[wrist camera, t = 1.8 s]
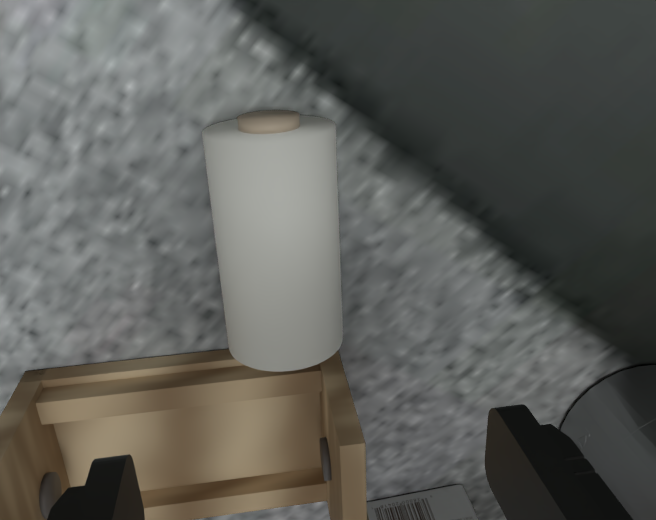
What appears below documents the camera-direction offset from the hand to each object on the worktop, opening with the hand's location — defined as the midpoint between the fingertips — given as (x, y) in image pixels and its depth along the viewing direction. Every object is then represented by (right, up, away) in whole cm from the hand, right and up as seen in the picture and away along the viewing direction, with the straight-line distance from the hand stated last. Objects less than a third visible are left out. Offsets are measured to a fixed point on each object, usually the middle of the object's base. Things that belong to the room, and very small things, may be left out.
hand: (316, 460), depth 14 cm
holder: (-7, -4, +18) cm, 20 cm away
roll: (-2, +5, +12) cm, 13 cm away
